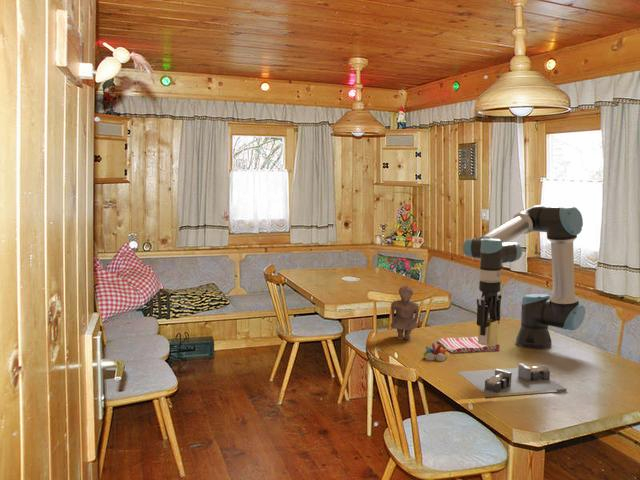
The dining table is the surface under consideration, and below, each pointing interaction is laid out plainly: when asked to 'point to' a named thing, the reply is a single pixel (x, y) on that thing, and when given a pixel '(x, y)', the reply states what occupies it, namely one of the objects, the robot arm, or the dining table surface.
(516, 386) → the grey base plate
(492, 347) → the dish towel
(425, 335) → the dining table surface
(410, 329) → the clay figurine
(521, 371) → the grey metal block
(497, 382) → the grey notched block
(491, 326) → the tan rectangular block
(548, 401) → the dining table surface
